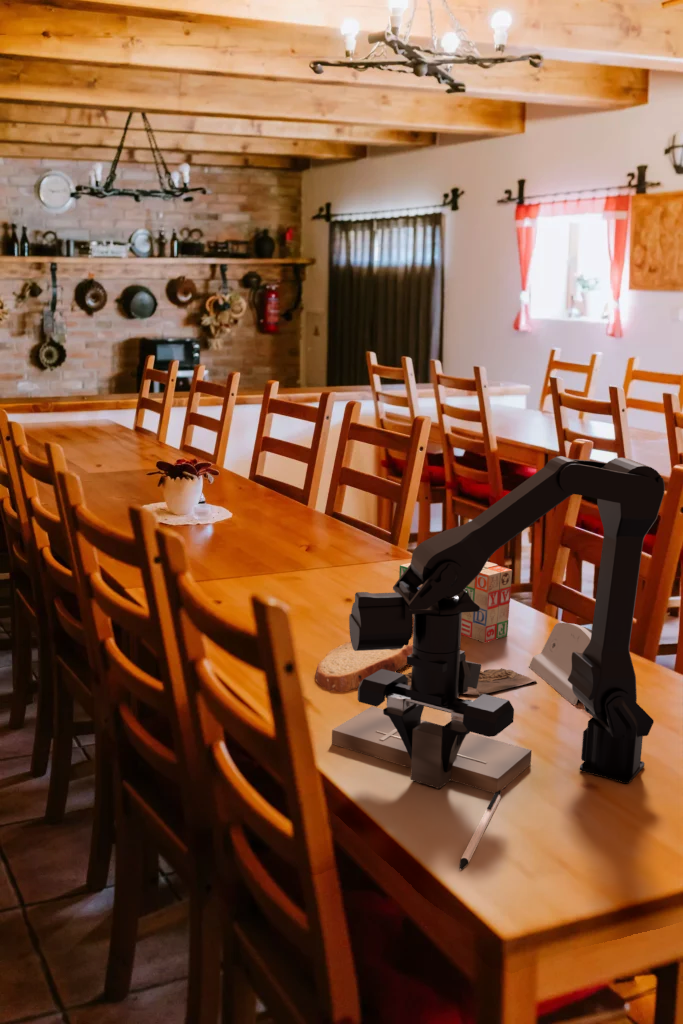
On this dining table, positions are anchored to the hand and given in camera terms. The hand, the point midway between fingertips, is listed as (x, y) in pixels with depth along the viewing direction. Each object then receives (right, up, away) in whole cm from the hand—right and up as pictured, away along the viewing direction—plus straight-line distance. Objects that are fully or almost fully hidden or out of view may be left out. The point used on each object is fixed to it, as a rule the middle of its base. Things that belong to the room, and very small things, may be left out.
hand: (431, 766), depth 133 cm
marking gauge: (+1, -1, +2) cm, 3 cm away
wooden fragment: (+6, +4, +33) cm, 34 cm away
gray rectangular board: (0, 0, +8) cm, 8 cm away
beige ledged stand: (+25, +4, +34) cm, 43 cm away
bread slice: (-7, +6, +39) cm, 40 cm away
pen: (+5, -5, -11) cm, 13 cm away
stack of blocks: (+9, +11, +62) cm, 63 cm away
